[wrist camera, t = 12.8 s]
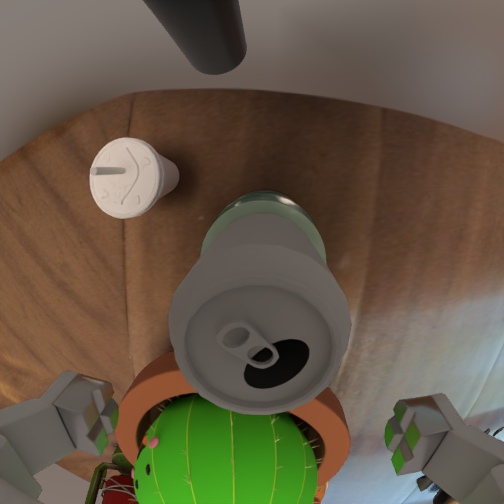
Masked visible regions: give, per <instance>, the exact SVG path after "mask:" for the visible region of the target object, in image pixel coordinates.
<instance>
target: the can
mask: <svg viewBox="0 0 504 504" xmlns="http://www.w3.org/2000/svg"><path fill="white" fill-rule="evenodd" d="M168 322H169V333H170V341H171V344H172V346H173V348H174V354H175V360H176V362H177V364H178V366H179V368H180V370H181V373H182V375H183V377H184V379H185V380H186V381H187V382H188V383H189V384H190V385H191V386H192V387H193V388H194V389H195V390H196V391H197V393H198V394H199V395H200V396H202V397H204V398H205V399H207V400H209V401H210V402H212V403H214V404H215V405H217V406H219V407H221V408H224V409H227V410H231V411H234V412H238V413H241V414H251V415H271V414H276V413H281V412H286V411H291V410H293V409H295V408H297V407H299V406H301V405H303V404H305V403H308V402H310V401H311V400H313V399H314V398H315V397H316V396H317V395H318V394H320V393H321V392H322V391H323V390H324V389H325V388H326V387H328V386H329V384H330V382H331V381H332V379H333V378H334V376H335V374H336V373H337V371H338V369H339V368H340V364H341V360H342V357H343V355H344V353H345V352H346V350H347V346H348V341H349V336H350V330H351V325H352V324H351V318H350V312H349V307H348V302H347V298H346V296H345V295H344V293H343V291H342V290H341V288H340V286H339V285H338V283H337V281H336V280H335V278H334V276H333V275H332V273H331V272H330V270H329V269H328V267H327V265H326V264H325V262H324V261H323V259H322V258H321V256H320V255H319V253H318V252H317V250H316V248H315V247H314V245H313V244H312V242H311V241H310V239H309V238H308V236H307V235H306V233H305V232H304V231H303V230H302V229H301V228H300V227H298V226H297V225H296V224H295V223H293V222H292V221H291V220H288V219H286V218H283V217H280V216H278V215H275V214H257V213H256V214H252V215H249V216H245V217H242V218H239V219H237V220H236V221H234V222H233V223H232V224H230V225H229V226H227V227H226V228H225V229H224V230H223V231H222V232H221V233H220V235H219V236H218V237H217V238H216V239H215V241H214V242H213V243H212V244H211V245H210V247H209V248H208V249H207V250H206V251H205V253H204V254H203V255H202V256H201V258H200V259H199V260H198V261H197V262H196V264H195V265H194V266H193V267H192V269H191V270H190V271H189V273H188V274H187V275H186V277H185V278H184V279H183V281H182V282H181V284H180V285H179V286H178V288H177V289H176V291H175V292H174V296H173V300H172V303H171V307H170V311H169V315H168Z"/></svg>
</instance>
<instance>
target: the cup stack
mask: <svg viewBox="0 0 504 504" xmlns="http://www.w3.org/2000/svg"><path fill="white" fill-rule="evenodd" d="M256 213H257V214H275V215H278V216H280V217H283V218H286V219H288V220H291V221H292V222H293V223H295V224H296V225H297V226H298V227H300V228H301V229H302V230H303V231H304V232H305V233H306V235H307V236H308V238H309V239H310V241H311V242H312V244H313V245H314V247H315V248H316V250H317V252H318V253H319V255H320V256H321V258H322V259H323V261H324V262H325V264H326V251H325V247H324V243H323V241H322V238H321V236H320V234H319V232H318V230H317V228H316V225H315V223H314V222H313V220H312V218H311V217H310V216H309V214H308V213H307V212H306V211H305V210H304V209H303V208H302V207H301V206H300V205H298V204H297V203H296V202H295V201H294V200H292V199H291V198H290V197H288V196H286V195H284V194H281V193H279V192H275V191H268V190H260V191H254V192H250V193H247V194H245V195H243V196H241V197H239V198H238V199H236V200H235V201H234V202H232V203H230V204H229V205H228V206H227V207H225V208H224V209H223V210H222V211H221V213H220V214H219V215H218V216H217V218H216V219H215V221H214V223H213V225H212V226H211V228H210V229H209V230H208V232H207V234H206V236H205V238H204V241H203V244H202V248H201V253H200V258H201V256H202V255H203V254H204V253H205V251H206V250H207V249H208V248H209V247H210V245H211V244H212V243H213V242H214V241H215V239H216V238H217V237H218V236H219V235H220V233H221V232H222V231H223V230H224V229H225V228H226V227H227V226H229V225H230V224H232V223H233V222H234V221H236V220H237V219H239V218H242V217H245V216H249V215H252V214H256Z"/></svg>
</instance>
